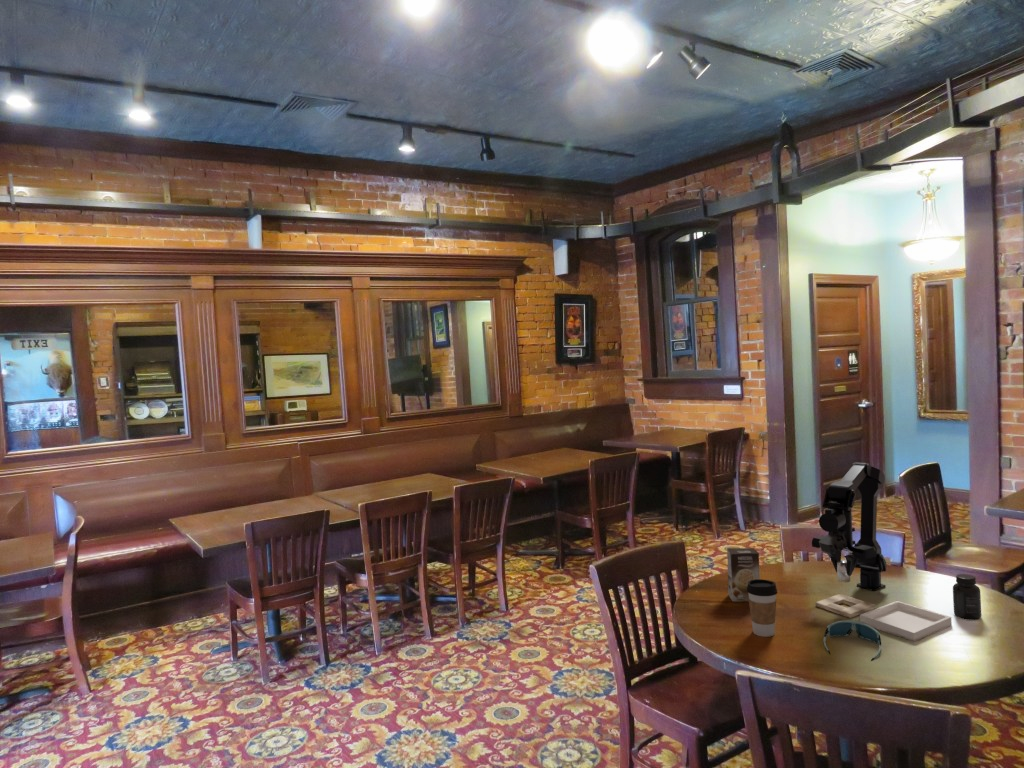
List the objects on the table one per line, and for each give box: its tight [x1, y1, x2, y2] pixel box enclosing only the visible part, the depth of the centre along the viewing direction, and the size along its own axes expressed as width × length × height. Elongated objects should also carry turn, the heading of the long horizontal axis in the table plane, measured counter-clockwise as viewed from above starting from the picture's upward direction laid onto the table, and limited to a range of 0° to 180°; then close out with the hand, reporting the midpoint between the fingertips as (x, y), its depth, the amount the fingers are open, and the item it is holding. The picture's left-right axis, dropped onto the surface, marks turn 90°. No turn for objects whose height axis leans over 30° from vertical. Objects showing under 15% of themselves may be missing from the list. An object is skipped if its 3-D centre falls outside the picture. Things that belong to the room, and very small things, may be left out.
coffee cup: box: [747, 578, 778, 638], centre depth 199 cm, size 8×8×15 cm
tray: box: [859, 600, 953, 642], centre depth 199 cm, size 18×16×2 cm
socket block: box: [815, 593, 876, 619], centre depth 214 cm, size 12×12×1 cm
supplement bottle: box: [952, 573, 982, 621], centre depth 202 cm, size 7×7×12 cm
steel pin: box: [836, 559, 851, 584], centre depth 213 cm, size 4×4×6 cm
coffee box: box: [726, 547, 761, 602], centre depth 226 cm, size 9×6×16 cm
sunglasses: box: [822, 619, 882, 662], centre depth 187 cm, size 14×15×5 cm
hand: (843, 574), depth 213 cm, fingers closed on steel pin, 4 cm apart
